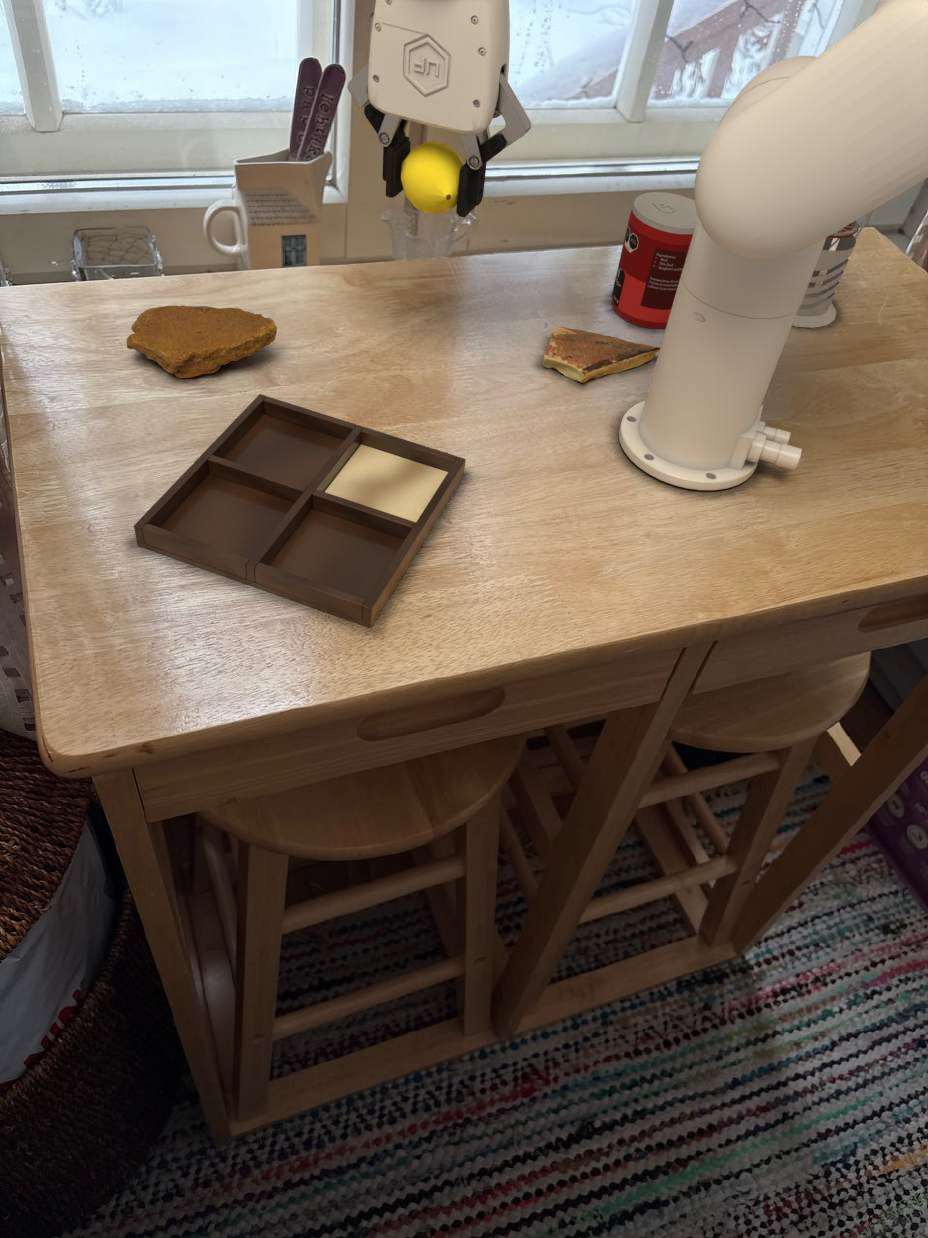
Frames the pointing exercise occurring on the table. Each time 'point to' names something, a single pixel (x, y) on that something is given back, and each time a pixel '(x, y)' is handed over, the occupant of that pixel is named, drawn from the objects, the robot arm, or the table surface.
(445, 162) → the lemon
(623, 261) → the canned food
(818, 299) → the french press
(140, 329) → the artifact
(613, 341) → the pie slice
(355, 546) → the brown compartment tray
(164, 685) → the table surface
